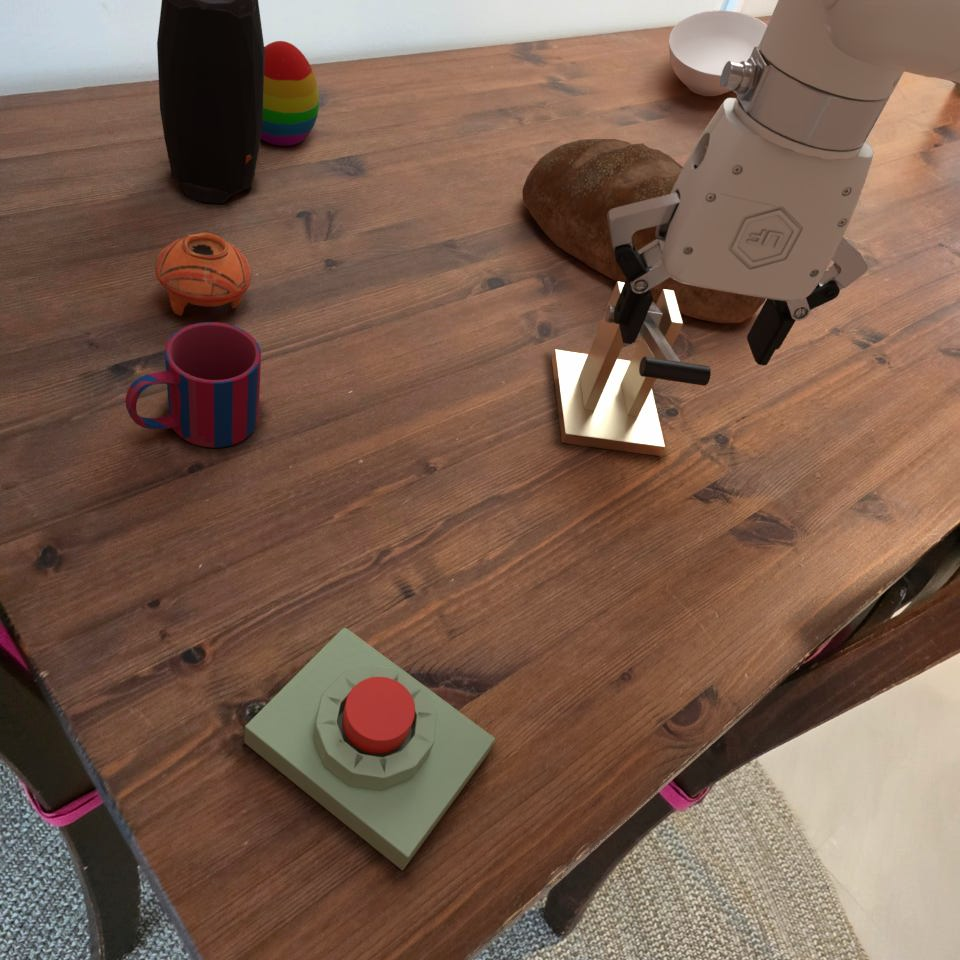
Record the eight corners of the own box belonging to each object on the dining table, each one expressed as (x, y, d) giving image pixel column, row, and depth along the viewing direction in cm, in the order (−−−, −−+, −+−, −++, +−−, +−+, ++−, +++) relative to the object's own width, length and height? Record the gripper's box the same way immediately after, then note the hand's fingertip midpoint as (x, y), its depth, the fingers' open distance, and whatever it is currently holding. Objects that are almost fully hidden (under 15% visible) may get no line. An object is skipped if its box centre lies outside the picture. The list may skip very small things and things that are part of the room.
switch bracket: (660, 456, 77) (715, 354, 69) (561, 443, 76) (604, 337, 67) (642, 372, 85) (689, 270, 76) (551, 358, 83) (589, 253, 75)
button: (424, 717, 52) (429, 704, 51) (382, 768, 50) (386, 755, 49) (371, 678, 53) (374, 663, 52) (327, 725, 51) (330, 711, 50)
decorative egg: (250, 108, 101) (252, 18, 94) (321, 124, 102) (329, 36, 95) (233, 143, 96) (234, 50, 89) (309, 159, 97) (316, 69, 90)
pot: (137, 278, 78) (151, 209, 74) (223, 285, 82) (240, 220, 78) (163, 334, 73) (179, 264, 69) (252, 337, 78) (272, 272, 74)
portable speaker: (274, 197, 91) (284, -3, 76) (188, 214, 86) (181, 4, 72) (234, 154, 94) (237, -45, 80) (149, 168, 89) (135, -41, 75)
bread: (721, 357, 89) (772, 263, 81) (488, 219, 97) (513, 121, 88) (776, 296, 99) (826, 206, 91) (561, 175, 107) (590, 83, 98)
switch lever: (704, 395, 65) (715, 365, 64) (640, 385, 64) (649, 355, 63) (661, 330, 75) (670, 304, 74) (605, 321, 74) (613, 294, 73)
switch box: (488, 753, 56) (503, 725, 53) (402, 871, 50) (413, 846, 47) (341, 643, 59) (347, 610, 56) (243, 742, 53) (244, 711, 50)
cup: (272, 434, 69) (276, 370, 64) (144, 471, 64) (138, 405, 60) (237, 379, 73) (238, 313, 68) (112, 410, 68) (103, 342, 63)
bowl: (724, 132, 125) (743, 90, 120) (630, 89, 128) (644, 46, 123) (779, 73, 144) (797, 35, 140) (697, 37, 147) (711, -1, 143)
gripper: (674, 101, 45) (576, 358, 57) (973, 164, 48) (820, 395, 60) (650, 42, 50) (565, 290, 62) (922, 102, 53) (790, 327, 65)
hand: (691, 342), depth 61 cm, fingers open, 9 cm apart
